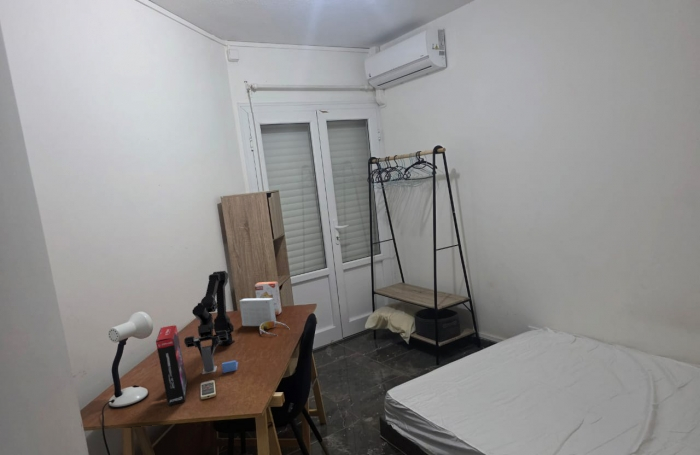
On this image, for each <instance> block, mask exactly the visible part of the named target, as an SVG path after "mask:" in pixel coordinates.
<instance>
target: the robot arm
mask: <svg viewBox="0 0 700 455" xmlns="http://www.w3.org/2000/svg"><path fill="white" fill-rule="evenodd" d="M228 280H229V273H228V272H227V271H226V270H219V271H213V273H212V274H211V273H210V274H209V275H208V283H207V287H206V291H205V295H204V296H203V297H202V299H201V300H200V302H197V305H196V306H194V307H193V309H192V312H191V313H192V314H193V316H194V317H195V318H196V319H197V321H199V325H198V326H197V333H198V337H195V336H194V335H191V336H186V337H185V338H184V341H183V343H184V345H185V347H186V348H193V347H194V348H197V350H198V351H199V354H200V356H201V358H202V353H201V349H202V347H203V345H202V342H207V341H211V346H212V347H211V355H213V356H214V353H215V351H216V348H217V346H223V347H227V346H228V345H231V344H233V343H234V342H236V341H235V339H233V334H232V333H233V332H234V331H235V330H234V325H233V323H232V322H231V318H230V317H229V315H228V314H227V303H226V286H227V284H228ZM215 312H216V313H217V315H216V316H215V318H214V316H213V314H212V313H215ZM214 333H215V334H214Z"/></svg>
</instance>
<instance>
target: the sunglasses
mask: <svg viewBox="0 0 700 455" xmlns="http://www.w3.org/2000/svg"><path fill="white" fill-rule="evenodd" d="M275 323H276V324H278V325H283V326H284V327H286V328H287V329H288V328H289V326H288V325H287V324H286V323H282V322H279V321H277V320H276V321H265V322H263V323H262V324H261V325H260V326H259V333H260V335H262V333H264V334H267V335H272V336H275V337H278V336H279V335H277V334H275V333H271V332H267V331H266V330H268V329H272V328H275V327H276V324H275ZM265 329H266V330H265Z"/></svg>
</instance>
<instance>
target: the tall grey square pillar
mask: <svg viewBox="0 0 700 455" xmlns="http://www.w3.org/2000/svg"><path fill="white" fill-rule="evenodd" d="M211 347H212V344H211V345H206V346H202V349H201V353H202V357H201V358H202V365H203V369H204V371H209V370H214V366H216V365H215V359H214V354H213V355H211Z"/></svg>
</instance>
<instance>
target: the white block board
mask: <svg viewBox="0 0 700 455" xmlns="http://www.w3.org/2000/svg"><path fill="white" fill-rule="evenodd" d="M238 364H239V361H237V360H236V359H235V360H230V361H225V362H222V363H221V368H222V373H223V374H224V373H229V372H233V371H237V370H238ZM217 368H218V366H217V365H215V366H214V370H209V371H204V368H203V370H202V372H201V375H204V374H210V373H214V372H216V371H217Z"/></svg>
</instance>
